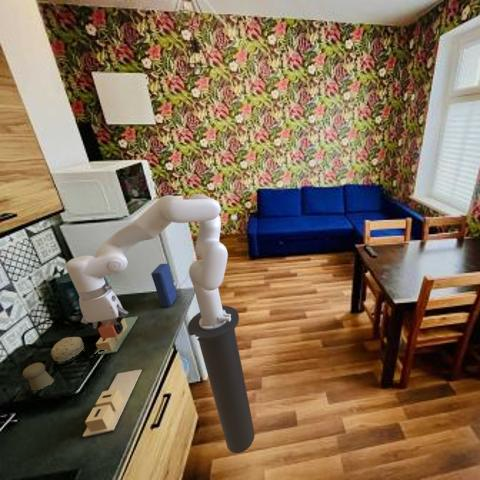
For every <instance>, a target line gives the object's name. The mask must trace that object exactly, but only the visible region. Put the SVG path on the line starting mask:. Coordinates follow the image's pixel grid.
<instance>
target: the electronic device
mask: <svg viewBox="0 0 480 480" xmlns="http://www.w3.org/2000/svg"><path fill="white" fill-rule="evenodd" d="M150 276H151V278H152V282H153V284H154V287H155V289H156V290H155V291H156V293H157V297H158V299H159V303H160V306H161V307H162V308H170V307H171V306H172V305H173V303H174V302H175V300H176V299H177V297H178V296H179V295H178V292H177V289H176V285H175V283H174V280H173V277H172V273H171V268H170V264H169V263H160V264H158V265H157V267H155V269H153V271H152V272H151V273H150Z"/></svg>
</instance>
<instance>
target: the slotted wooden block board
mask: <svg viewBox="0 0 480 480" xmlns="http://www.w3.org/2000/svg"><path fill="white" fill-rule="evenodd" d="M142 371H143V370H142V369H135V370H130V371H123V372H118V373H117V374H116V375H115V377H114V379H113V380H112V383H111V385H110V386H109V388H108V389H107V390H104V391H102V392H101V394H100V395H99V398H98V399H97V400H96V402H95V404H94V405H95V406H93V407H92V409H91V411H90V412H89V414H88V416H87V418H86V420H85V421H84V424H85V425H86V429H85V431H84V432H83V434H82V437H83V438H87V437H91V436H96V435H101V434H104V433H109V432H114V431H115V428H116V426H117V424H118V423H119V419H120V417H121V416H122V413H123V411H124V409H125V408H126V405H127V403H128V401H129V398H130V397H131V394H132V392H133V390H134V388H135V386H136V383H137V381H138V379H139V377H140V375H141V373H142Z"/></svg>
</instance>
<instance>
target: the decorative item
mask: <svg viewBox="0 0 480 480" xmlns="http://www.w3.org/2000/svg"><path fill="white" fill-rule="evenodd" d="M83 349H84V350H83ZM82 350H83V351H84V352H85V346H84V342H83V339H82V338H81V337H80V336H69V337H64V338H62V339H60V340H59V341H58V342H56V343H55V344H54V345H53V347H52V348H51V351H50V355H51V357H52V360H53V361H58V362H63V361H66V360H69V359H71V358H72V357H75V356H76V355H78V354H79V353H80V352H81V351H82Z"/></svg>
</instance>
